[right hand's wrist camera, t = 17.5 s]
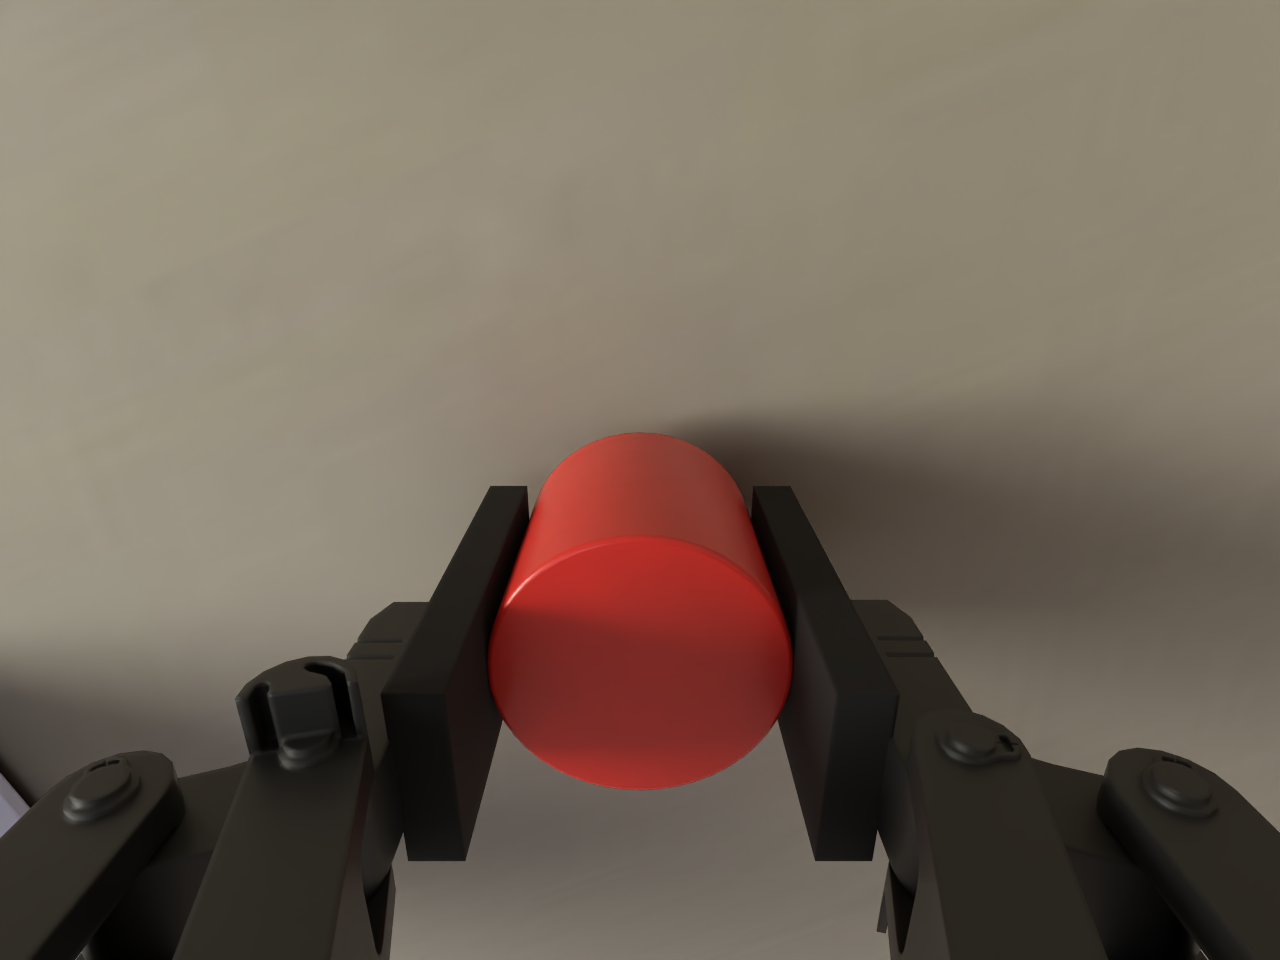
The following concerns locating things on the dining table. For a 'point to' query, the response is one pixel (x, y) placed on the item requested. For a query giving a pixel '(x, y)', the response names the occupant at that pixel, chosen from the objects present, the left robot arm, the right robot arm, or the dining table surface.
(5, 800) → the left robot arm
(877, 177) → the dining table surface
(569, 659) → the canister
